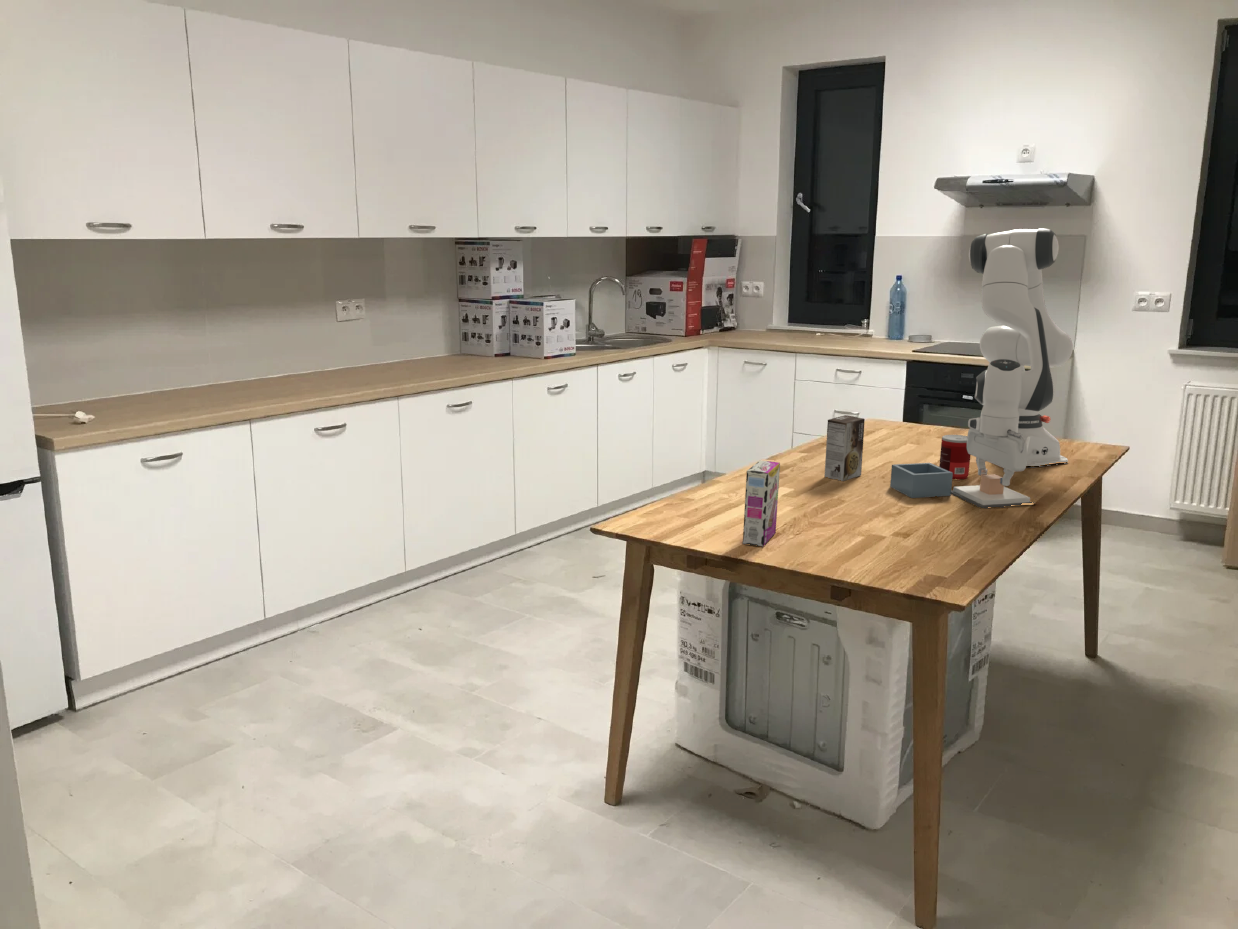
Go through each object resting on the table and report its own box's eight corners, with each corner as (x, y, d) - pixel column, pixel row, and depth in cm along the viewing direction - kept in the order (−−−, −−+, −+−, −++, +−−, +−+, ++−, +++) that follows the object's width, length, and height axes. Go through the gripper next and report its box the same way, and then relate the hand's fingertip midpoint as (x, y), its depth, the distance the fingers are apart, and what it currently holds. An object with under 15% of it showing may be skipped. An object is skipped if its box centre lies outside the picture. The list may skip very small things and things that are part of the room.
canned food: (973, 476, 265) (977, 437, 262) (960, 481, 259) (964, 441, 256) (946, 471, 270) (950, 433, 267) (933, 476, 264) (937, 437, 261)
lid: (998, 488, 250) (1000, 469, 249) (1029, 502, 238) (1032, 482, 237) (953, 491, 248) (955, 471, 246) (982, 505, 235) (984, 484, 234)
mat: (999, 489, 252) (999, 487, 251) (1035, 505, 237) (1036, 503, 237) (947, 492, 248) (947, 490, 248) (981, 508, 234) (981, 506, 234)
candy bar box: (764, 548, 204) (768, 473, 200) (742, 545, 206) (745, 470, 202) (777, 533, 214) (781, 461, 210) (755, 530, 216) (758, 459, 212)
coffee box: (841, 471, 269) (845, 414, 265) (861, 475, 264) (866, 418, 260) (823, 477, 262) (826, 418, 259) (843, 481, 258) (847, 422, 254)
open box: (927, 484, 256) (929, 462, 254) (950, 495, 245) (952, 472, 244) (890, 486, 253) (891, 464, 252) (911, 498, 243) (913, 474, 241)
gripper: (1036, 434, 229) (1030, 490, 233) (986, 417, 249) (981, 469, 252) (1013, 435, 228) (1007, 491, 231) (964, 418, 247) (959, 471, 251)
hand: (993, 480), depth 242 cm, fingers open, 8 cm apart
